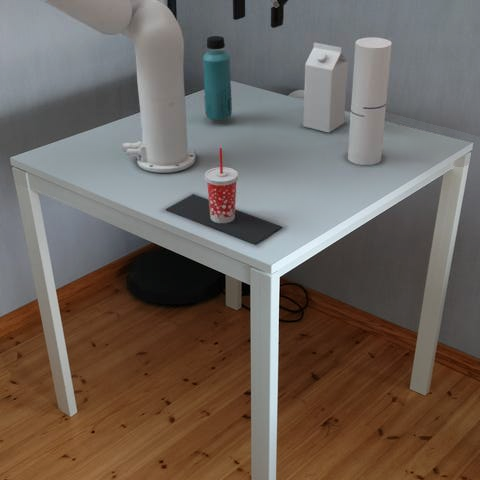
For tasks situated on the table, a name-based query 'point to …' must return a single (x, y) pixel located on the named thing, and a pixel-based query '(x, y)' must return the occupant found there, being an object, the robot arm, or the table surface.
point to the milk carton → (325, 88)
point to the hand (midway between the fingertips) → (257, 22)
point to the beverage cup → (221, 192)
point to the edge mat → (240, 227)
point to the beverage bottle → (217, 80)
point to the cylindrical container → (369, 100)
